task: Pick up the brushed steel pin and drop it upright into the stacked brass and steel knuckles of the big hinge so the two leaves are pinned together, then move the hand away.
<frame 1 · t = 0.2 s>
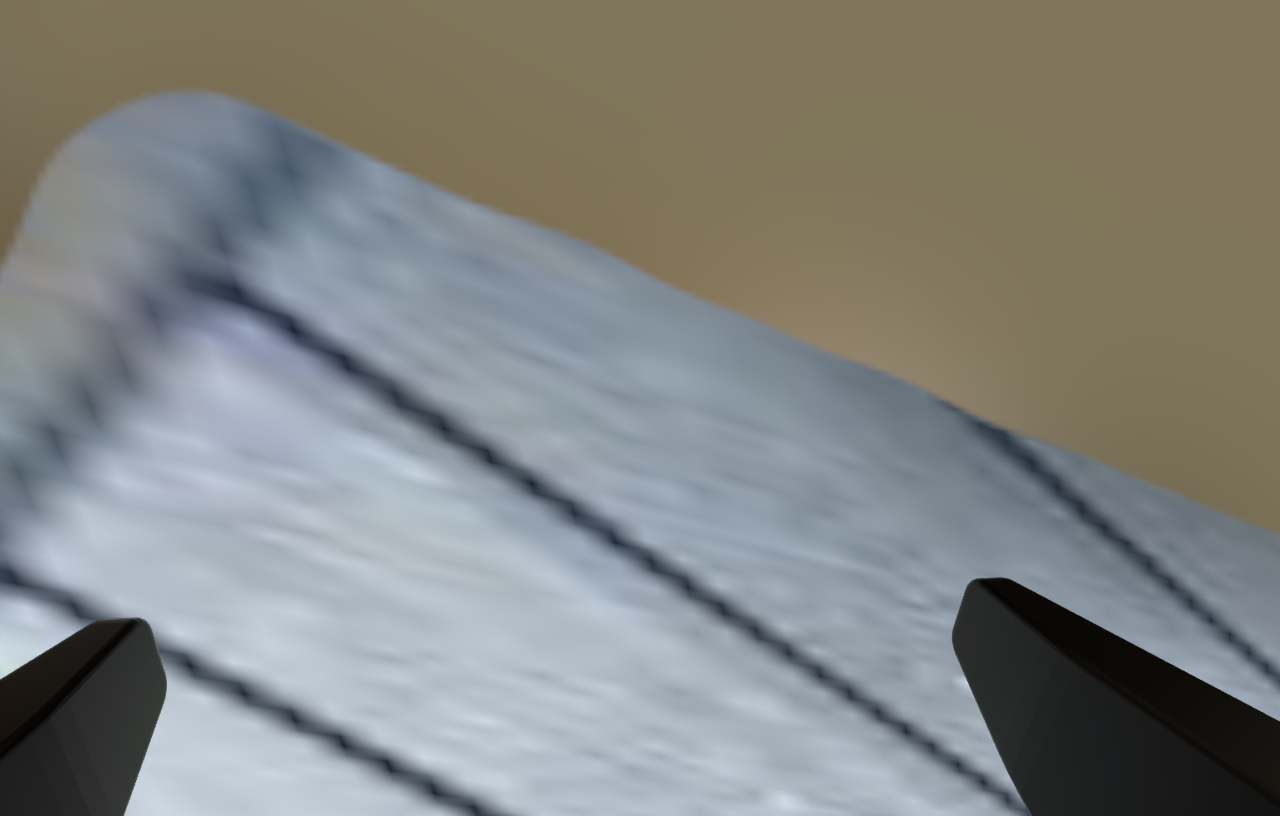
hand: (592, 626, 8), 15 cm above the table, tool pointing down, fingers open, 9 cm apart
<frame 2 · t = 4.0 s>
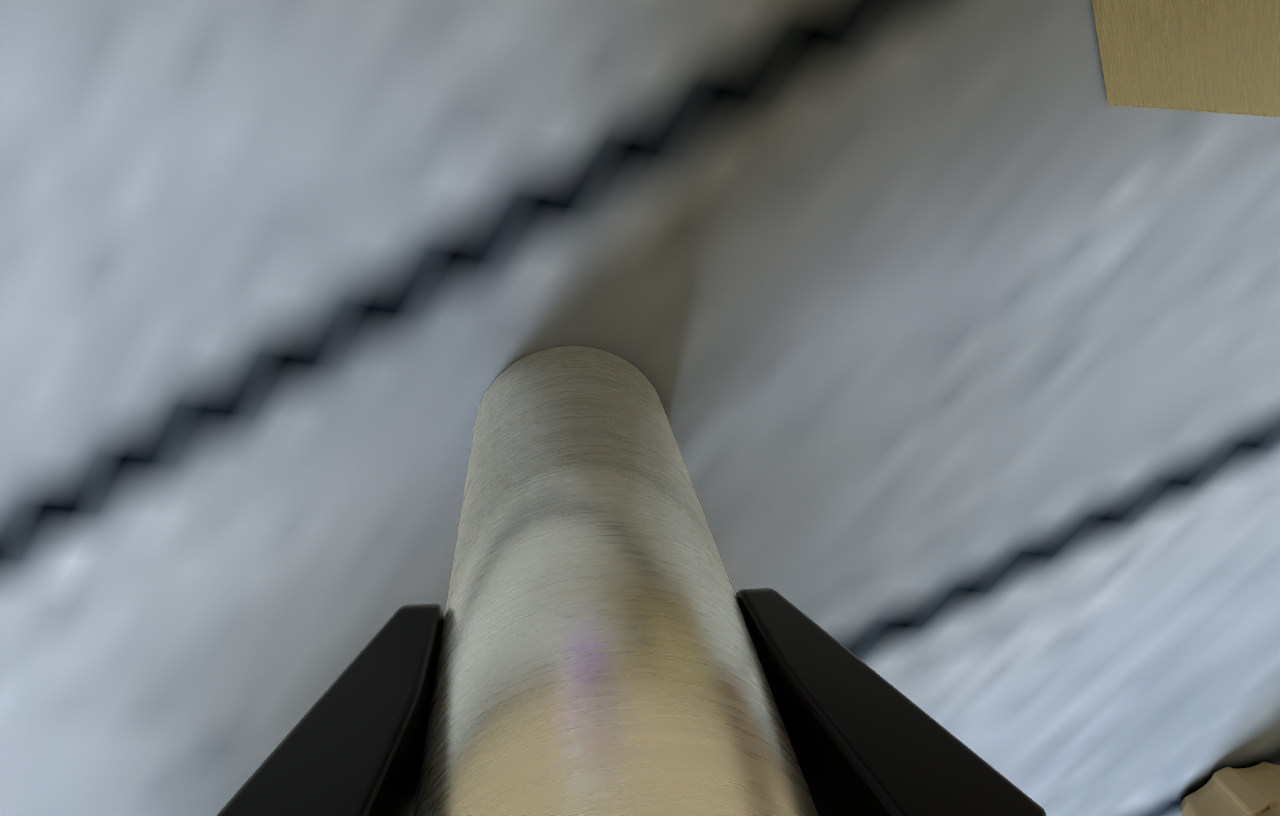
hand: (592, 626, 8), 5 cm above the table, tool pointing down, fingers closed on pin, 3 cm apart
pin: (571, 434, 12), on the table, touching gripper
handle: (1219, 787, 20), on the table
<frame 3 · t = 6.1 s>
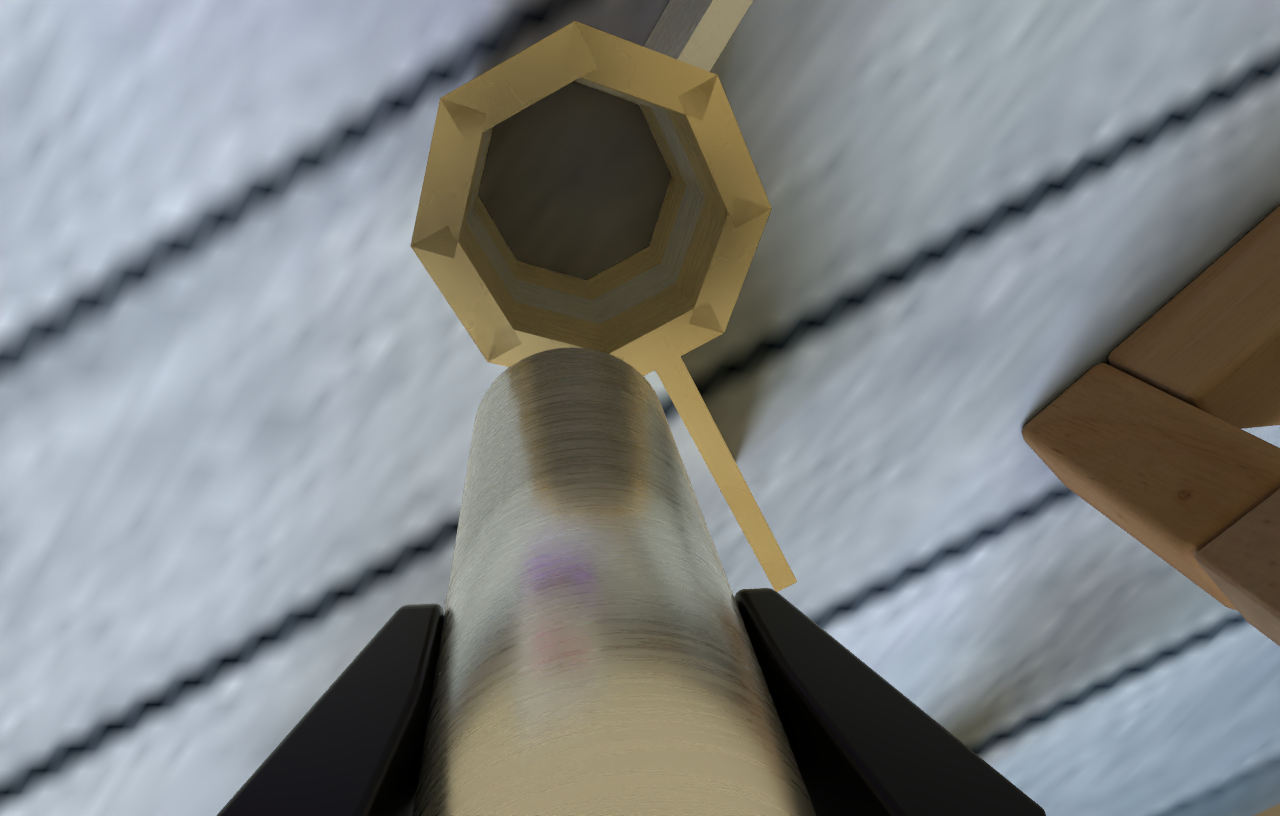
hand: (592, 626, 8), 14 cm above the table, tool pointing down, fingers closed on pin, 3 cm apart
hinge: (576, 185, 19), on the table
wooden block: (1162, 348, 24), on the table
pin: (571, 436, 12), point 9 cm above the table, touching gripper
when the fingers open (7 cm above the table, at t = 8.5 s): pin drops 2 cm, resting in hinge.
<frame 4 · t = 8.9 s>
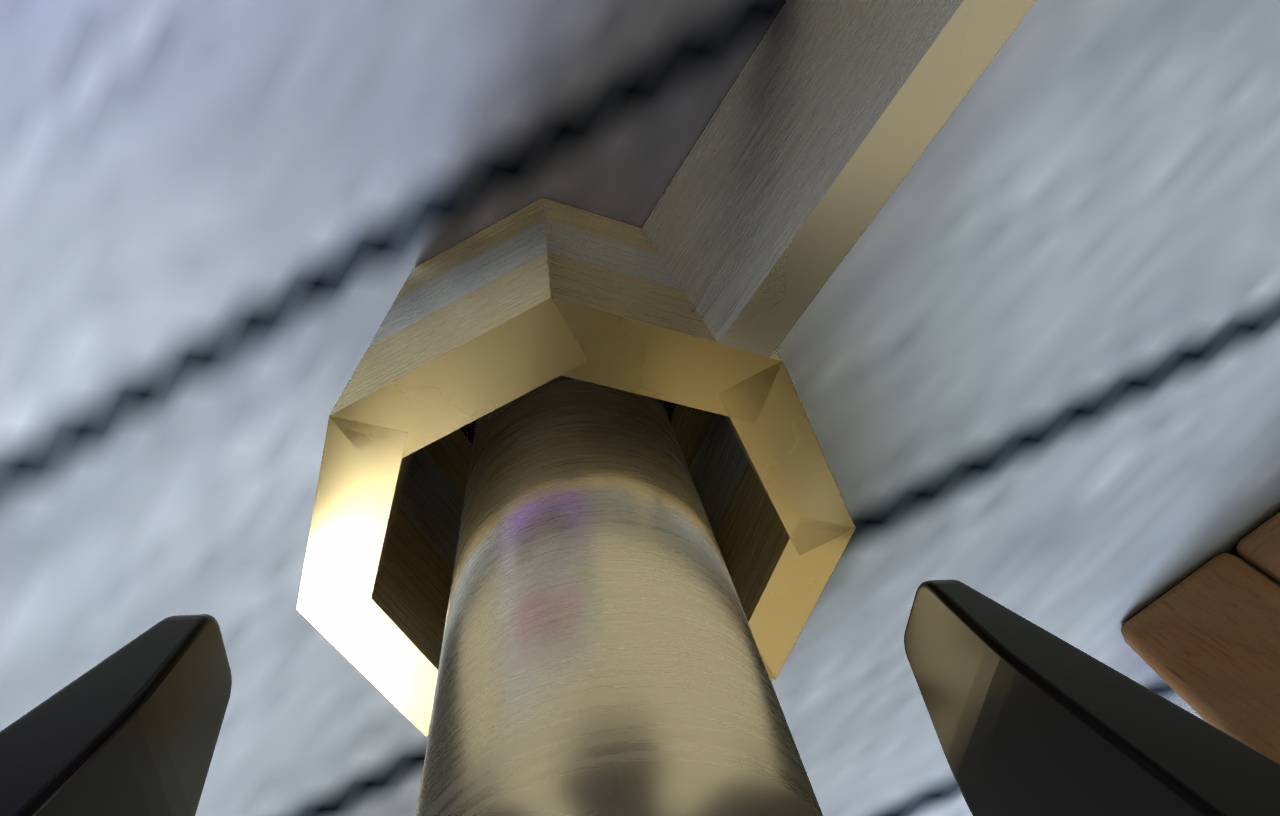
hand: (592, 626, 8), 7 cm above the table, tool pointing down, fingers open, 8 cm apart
hinge: (565, 375, 14), on the table
pin: (566, 376, 14), resting in hinge
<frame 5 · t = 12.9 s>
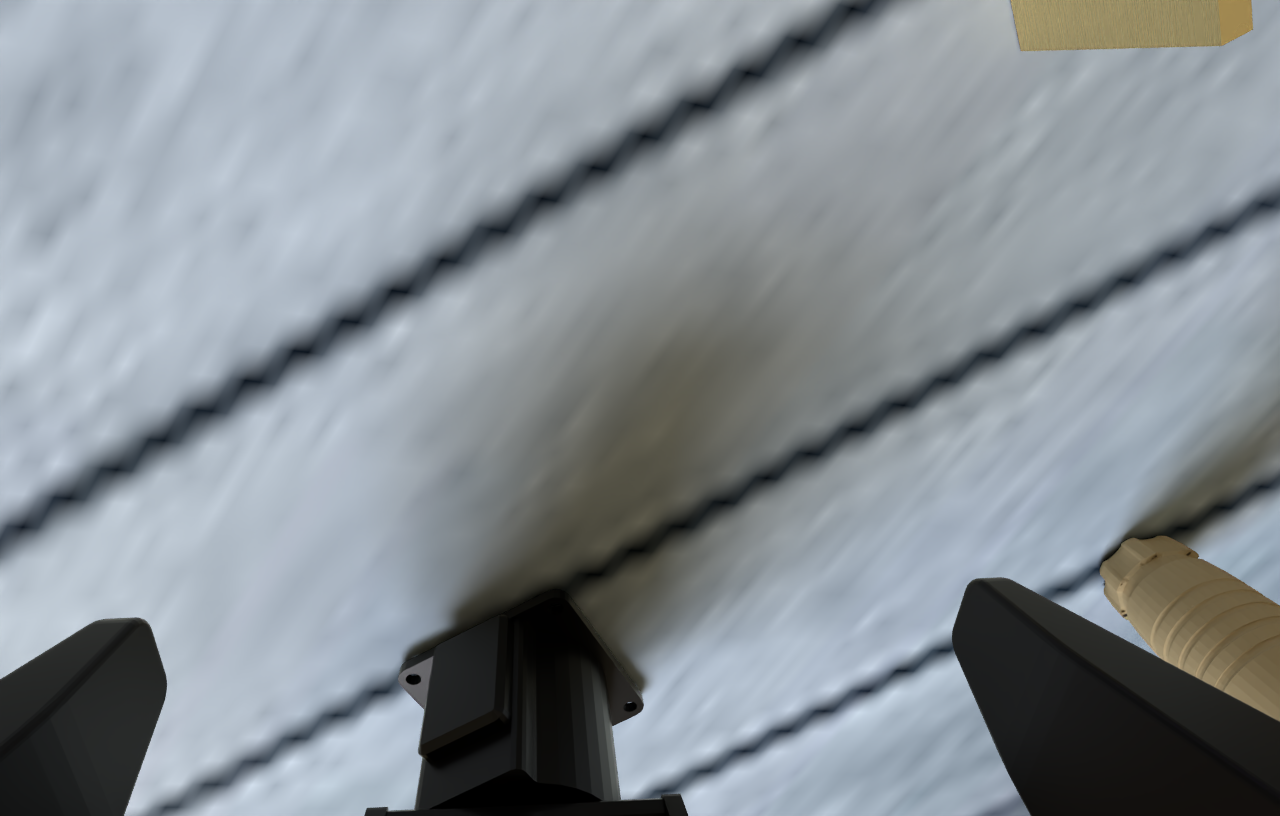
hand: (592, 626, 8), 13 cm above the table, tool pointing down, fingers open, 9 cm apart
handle: (1129, 560, 27), on the table
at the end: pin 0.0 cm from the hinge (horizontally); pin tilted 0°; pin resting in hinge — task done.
